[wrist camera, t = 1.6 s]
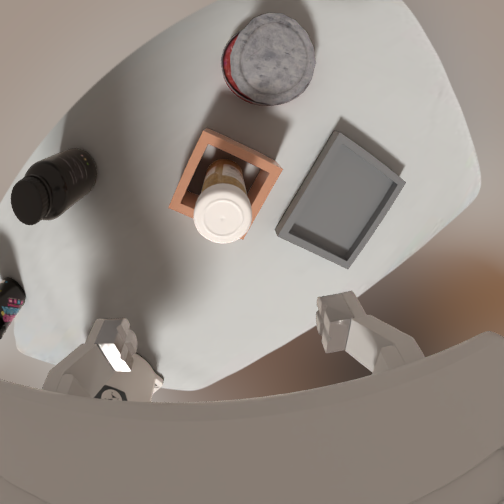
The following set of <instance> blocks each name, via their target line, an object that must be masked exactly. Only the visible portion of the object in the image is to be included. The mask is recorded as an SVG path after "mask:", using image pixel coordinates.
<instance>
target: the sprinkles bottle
mask: <svg viewBox="0 0 504 504" xmlns="http://www.w3.org/2000/svg"><path fill="white" fill-rule="evenodd" d="M251 222H252V209H251V204H250V201H249V198H248V197H247V192H246V188H245V184H244V180H243V173H242V170H241V168H240V167H239V165H238V164H237V163H235V162H234V161H232V160H229V159H219V160H216V161H215V162H213V163H212V164H211V165H210V166H209V167H208V169H207V171H206V175H205V179H204V183H203V187H202V191H201V194H200V196H199V197H198V199H197V201H196V204H195V208H194V223H195V226H196V228H197V230H198V231H199V233H200V234H201V235H202V236H203V237H205V238H206V239H208V240H210V241H212V242H215V243H230V242H233V241H236V240H238V239H240V238H241V237H242V236H243V235H244V234H245V233H246V232H247V231H248V229H249V227H250V225H251Z"/></svg>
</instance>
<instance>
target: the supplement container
mask: <svg viewBox="0 0 504 504" xmlns="http://www.w3.org/2000/svg"><path fill="white" fill-rule="evenodd" d="M24 303H25V294H24V292H23V289H22V288H21V286H20V285H19V284H18V283H17V282H16V281H15V280H13V279H11V278H5V279H3V280H2V281H1V282H0V339H1V338H2V336H3V335H4V333H5V332H6V330H7V328H8V327H9V325H10V324H11V322H12V321H13V319H14V318H15V316H16V315H17V313H18V312H19V310H20V309H21V308H22V306H23V305H24Z"/></svg>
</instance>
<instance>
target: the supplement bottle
mask: <svg viewBox="0 0 504 504" xmlns="http://www.w3.org/2000/svg"><path fill="white" fill-rule="evenodd" d="M96 174H97V173H96V166H95V163H94V160H93V159H92V157H91V156H90V155H89V154H88V153H87V152H86V151H84V150H82V149H78V148H73V149H69V150H66V151H63V152H60V153H58V154H55V155H53V156H50V157H48V158H45V159H43V160H41V161H38V162H37V163H35V164H33V165H32V166H31V167H30V168H29V169H28V171H27V172H26V174H25V177H24V178H23V179H22V180H20V181H18V182H17V183H16V184H15V186H14V187H13V190H12V193H11V204H12V208H13V211H14V213H15V215H16V216H17V218H18V219H19V220H20V221H21V222H22V223H25V224H26V225H27V224H28V225H33V224H36V223H37V222H39V221H40V220H53V219H55V218H57V217H59V216H60V215H61V214H63V213H64V212H65V211H66V210H68V209H69V208H70V207H71V206H73V205H74V204H75V203H76V202H78V201H79V200H80V199H81V198H83V197H84V196H85V195H86V194H88V193H89V192H90V191H91V189H92V188H93V186H94V184H95V181H96Z"/></svg>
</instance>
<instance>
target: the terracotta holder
mask: <svg viewBox="0 0 504 504" xmlns="http://www.w3.org/2000/svg"><path fill="white" fill-rule="evenodd" d="M208 144H210V145H212V146H214V147H217V148H219V149H221V150H223V151H225V152H227V153H230V154H232V155H234V156H236V157H238V158H240V159H242V160H244V161H246V162H248V163H250V164H253V165H255V166H257V167H259V168H261V170H260V172H259V174H258V175H257V177H256V179H255V181H254V183H253V185H252V186H251V188H250V190H249V192H248V194H247V197H248V198H249V201H250V204H251V209H252V222H251V224H252V223H253V221H254V219H255V217H256V216H257V214H258V212H259V210H260V209H261V207H262V205H263V203H264V201H265V200H266V198H267V196H268V194H269V193H270V191H271V189H272V187H273V186H274V184H275V182H276V180H277V179H278V177H279V175H280V173H281V172H282V170H283V169H282V168H281V167H280V165H279V164H278V163H277V162H276V161H275V160H273V159H271V158H269V157H267V156H265V155H263V154H261V153H259V152H257V151H255V150H253V149H251V148H249V147H247V146H245V145H243V144H241V143H239V142H237V141H235V140H233V139H231V138H229V137H226V136H224V135H222V134H220V133H218V132H215V131H213V130H211V129H209V128H206V129H205V130H204V131H203V132H202V134H201V136H200V138H199V140H198V142H197V145H196V147H195V149H194V151H193V153H192V155H191V157H190V159H189V162H188V164H187V166H186V168H185V170H184V173H183V175H182V177H181V179H180V182H179V184H178V186H177V188H176V191H175V193H174V196H173V198H172V200H171V203H170V205H169V208H170V209H172V210H175V211H177V212H179V213H182V214H184V215H187V216H189V217H191V218H194V208H195V204H196V201H197V199H198V197H199V195H197V194H195V193H192V192H190V191H188V190H187V188H188V186H189V184H190V181H191V179H192V177H193V175H194V173H195V170H196V168H197V166H198V164H199V162H200V160H201V158H202V156H203V154H204V152H205V150H206V148H207V146H208ZM250 226H251V225H250ZM249 228H250V227H249ZM248 230H249V229H248ZM247 232H248V231H247ZM247 232H246V233H247ZM246 233H245V234H244V235H243V236H242V237H241V238H240V239H244V237H245V235H246Z"/></svg>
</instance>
